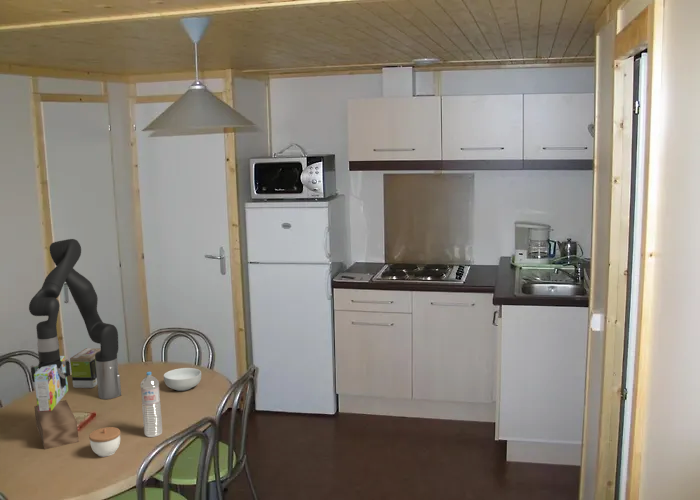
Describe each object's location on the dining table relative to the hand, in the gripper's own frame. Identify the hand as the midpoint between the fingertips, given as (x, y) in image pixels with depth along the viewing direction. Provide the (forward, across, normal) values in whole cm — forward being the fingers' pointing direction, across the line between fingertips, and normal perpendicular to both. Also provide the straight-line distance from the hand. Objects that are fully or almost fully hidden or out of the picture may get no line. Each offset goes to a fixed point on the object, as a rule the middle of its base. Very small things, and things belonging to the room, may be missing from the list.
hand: (52, 389), depth 269 cm
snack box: (+5, 0, 0) cm, 5 cm away
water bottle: (+18, -32, +22) cm, 43 cm away
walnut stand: (+18, 0, 0) cm, 18 cm away
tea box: (+18, -22, -53) cm, 60 cm away
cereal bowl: (+18, -57, -21) cm, 63 cm away
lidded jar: (+18, -13, +29) cm, 37 cm away
